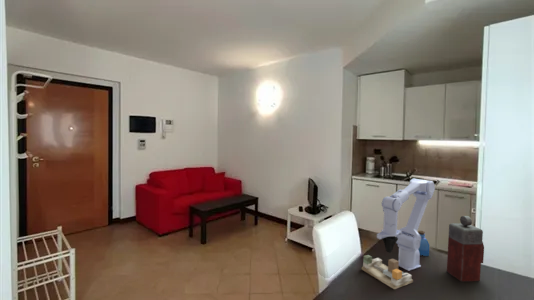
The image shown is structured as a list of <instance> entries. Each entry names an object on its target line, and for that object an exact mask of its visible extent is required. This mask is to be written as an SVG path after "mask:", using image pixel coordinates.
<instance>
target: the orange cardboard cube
mask: <svg viewBox="0 0 534 300" xmlns="http://www.w3.org/2000/svg"><path fill="white" fill-rule="evenodd" d="M402 272H403V271H402V270H400V269H399V268H398V269H394V270H392V277H393V278H395V279H396V280H398V279H401V278H402Z"/></svg>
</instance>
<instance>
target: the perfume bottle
mask: <svg viewBox="0 0 534 300" xmlns="http://www.w3.org/2000/svg"><path fill="white" fill-rule="evenodd" d="M417 232H418V233H419V235H420V236H421V241H420V247H419V249H418V250H419V253H420V256H422V255H423V256H425V257H430V243H429V241H428V239H427V238H426V232H425V231H423V230H417Z"/></svg>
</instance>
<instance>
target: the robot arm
mask: <svg viewBox="0 0 534 300" xmlns="http://www.w3.org/2000/svg"><path fill="white" fill-rule="evenodd" d="M435 190H436V186H435V183H434V181H433V180H425V179H420V178H419V179H418V178H414V177H413V178H412V179H410V180H409V183H408V185H407V186H405V188H403V189H398V190H396V191H395V192H394V193H392V194H391V195H389V196H388V195H387V196H385V197H383V199H382V200H381V206H382V212H383V227H382V228H383V229H381V231H380V232H378V233H376V238H377V239H379V240H382V241H383V243H384V247H385V252H387V253H389V254H391V253H392V252H393V250H394V247H395V245H396V244H397V247H398V261H399V267H400V268H402V269H404V270H406V271H410V272H411V271H412V270H415V269H419V268H421V267H422V265H421V264H420V258H421V257H420V256H421V255H420V253H419V250H418V249H419V247H420V241H421V236H420V235H419V233H418V231H419V227H420V224H421V221H422V219H423V217H424V213H425V211H426V208H427V207H428V206H427V205H428V203H429V200H432V197H433V195H434V193H435ZM411 195H413V196H414V197H415V202H414V205H413V207H412V210H411V212H410V215H409V218H408V221H407V223H406V225H405V226H403V227H400V229H398V214H399V212H400V210H401V207H402V206H403V204H405V202H407V201H408V200H409V197H410V196H411Z"/></svg>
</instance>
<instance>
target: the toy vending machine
mask: <svg viewBox="0 0 534 300" xmlns="http://www.w3.org/2000/svg"><path fill="white" fill-rule="evenodd" d="M459 221H460V222H459V223H456V222H455V223H449V224H448V242H447V245H448V246H447V259H446V272H447V273H448V274H450V275H451V276H452V277H454V278H456V279H457V280H458V281H460V282H480V281H481V273H482V271H481V269H482V264H484V257H485V246H484V242H483V239H484V237H483V236H484V235H483V234H484V231H483V229H481V228H480V227H476V226H474V225H472V221H473V220H472V218H471V217H470V216H468V215H462V216H460V219H459Z"/></svg>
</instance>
